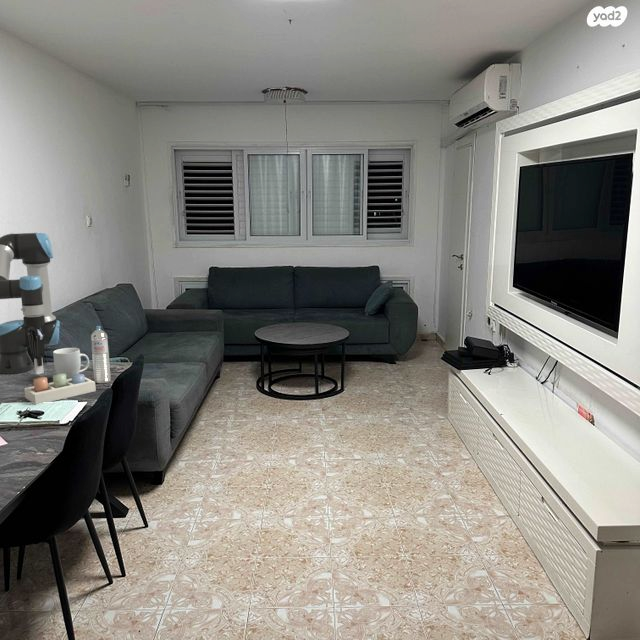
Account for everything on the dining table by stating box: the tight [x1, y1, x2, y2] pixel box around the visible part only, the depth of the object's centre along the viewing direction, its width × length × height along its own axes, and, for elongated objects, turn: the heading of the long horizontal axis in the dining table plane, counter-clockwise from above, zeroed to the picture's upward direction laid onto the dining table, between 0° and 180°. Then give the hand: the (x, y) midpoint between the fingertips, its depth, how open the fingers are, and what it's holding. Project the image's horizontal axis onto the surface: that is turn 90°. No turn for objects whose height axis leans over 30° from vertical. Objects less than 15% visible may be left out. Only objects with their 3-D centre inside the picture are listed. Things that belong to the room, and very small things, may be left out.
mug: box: [52, 347, 90, 380], centre depth 260 cm, size 15×11×13 cm
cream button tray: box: [23, 376, 97, 405], centre depth 238 cm, size 12×24×4 cm, turn 135°
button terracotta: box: [32, 376, 48, 393], centre depth 232 cm, size 5×5×5 cm
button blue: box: [72, 373, 86, 384], centre depth 243 cm, size 5×5×5 cm
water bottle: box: [90, 325, 111, 384], centre depth 253 cm, size 7×7×25 cm
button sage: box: [52, 373, 67, 388], centre depth 237 cm, size 5×5×5 cm
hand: (39, 373), depth 231 cm, fingers closed
